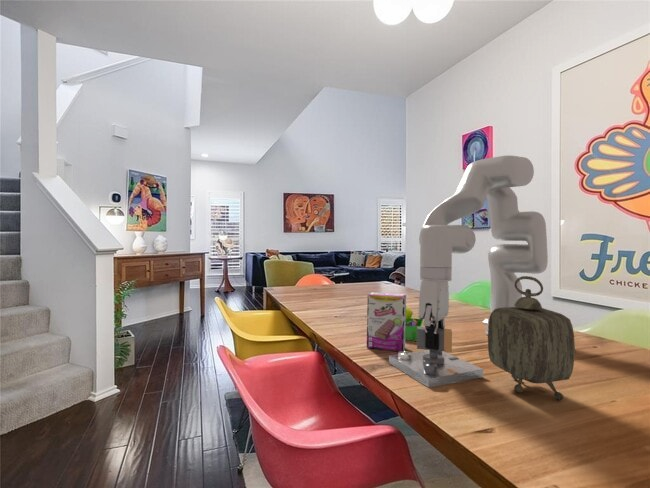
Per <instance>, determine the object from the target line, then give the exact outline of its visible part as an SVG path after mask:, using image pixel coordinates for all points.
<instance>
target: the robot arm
mask: <svg viewBox="0 0 650 488" xmlns="http://www.w3.org/2000/svg"><path fill="white" fill-rule="evenodd" d="M534 173H535V169H534V165H533V163H532V161H531V160H530V159H529V158H527V157H524V156H518V155H509V154H508V155H501V156H494V157H489V158H483V159H478V160H475V161H472V162H471V163H469V165H467V167H466V168H465V170H464V173H463V174H462V176H461V179H460V180H459V183H458V185H457V186H456V189H455V191H454V193H453V194H452V195H451V196H450V197H448V198H446V199H445V200H444V201H443V202H441V203H440V204H438V205H437V206H436V207H434V208H433V209H432V210H431V212H430V213H429V214H428V215H427V216H426V218H425V220H424V222H423V223H422V227H421V229H420V232H419V237H418V242H419V245H420V246H419V247H420V249H419V251H420V252H419V254H420V257H419V264H420V265H419V279H420V280H421V281H420V287H419V294H418V295H419V298H418V319H420V320H423V327H425V347H426V348H428V349H433V350H438V349H439V334H437V333H438V328H440V329H446V327H445V326H446V325H445V318H447V317H448V315H449V312H450V311H449V309H450V295H449V294H450V292H449V291H450V290H449V282H452V275H453V274H452V273H453V272H452V268H453V267H452V266H453V265H452V264H453V260H452V259H453V258H452V257H453V254H459V255H460V254H467V253H468V252H470V251H472V250H473V248H474V247H475V244H476V234H475V232H474V230H473V229H472V228H471V227H470V226H468V225H465V224H451V223H453V222H455V221H457V220H461V219H463V218H466V217H468V216H470V215H472V214H475V213H477V212H479V211H480V210H482V208H483V207H484V205H485V202H486V200H487V201H488V207H489V209H488V210H489V219H490V220H489V221H490V222H489V223H490V231H491V235H492V237H493V239H494V240H496V241H497V240H498V241H506V242H507V241H508V242H509V241H510V242H513V241H514V242H519V241H520V242H521V241H522V242H526V243H527V244H525V243H524V244H523V243H522V244H520V243H518V244H517V243H502V244H496V245H493V246H492V247H490V248H489V250H488V253H487V261H488V266H489V271H490V314H489V316H490V315H491V313H492V312H493V311H494V309H497V308H506V307H516V306H514V305H515V303H516V301H517V300H518V299H519V298H521V297H523V294H521V293H519V292H518V291H517V290H516V288H515V281H516V280H517V279H518V278H519V277H518V276H517V275H516V274H517V273H518V274H519V273H520V274H531V275H536V274H543V273H544V272H545V271H546V270H547V267H548V262H549V261H548V259H549V258H548V255H549V254H548V239H547V238H548V236H547V225H546V221H545V220H546V219H545V218H544V217H545V216H544V215H543V214H542V213H541V212H539V211H534V210H532V211H519V206H518V202H519V201H518V197H517V194H516V192H514V190H513V189H512V188H514V187H515V188H516V187H519V188H520V187H526V186H527V185H529V184H530V183H531V182H532V180H533V178H534V175H535V174H534ZM515 273H516V274H515ZM517 287H518V289H520V290H521V291H523V285H522V282H521V280H520V281H518V283H517ZM482 325H486V326H488V325H489V318H485V319H484V320H483V321H482ZM484 332H485V334H486V335H487V336H488V328H486V329H485V331H484Z"/></svg>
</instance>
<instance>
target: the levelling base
mask: <svg viewBox="0 0 650 488" xmlns="http://www.w3.org/2000/svg"><path fill="white" fill-rule="evenodd" d="M429 352H430V350H425V349H424V350H420V351H412V352H411V351H408V350H404V351H400V352H399V351H397V354H391V355H388V363H389V365H391V366H393V367H395V368H397V369H398V370H399V371H401V372H402V373H404V374H406V375H407V376H409V377H410V378H412V379H414V380H416V381H417V382H418V383H419V384H422V385H423V386H424V387H427V388H429V389H430V388H435V387H440V386H445V385H451V384H456V383H462V382H466V381H471V380H476V379H483V378H484V368H482V367H480V366H477V365H475V364H473V363H471V362H469V361H466V360H464V359H462V358H459V357H457V356H454V355H453V354H450V353H449V352H444V351H438V355H440V356H442V357H444V359H445V361H444V363H443V364H439V365H437V364H435V363H432V362H424V361H423V355H426V354H429Z"/></svg>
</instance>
